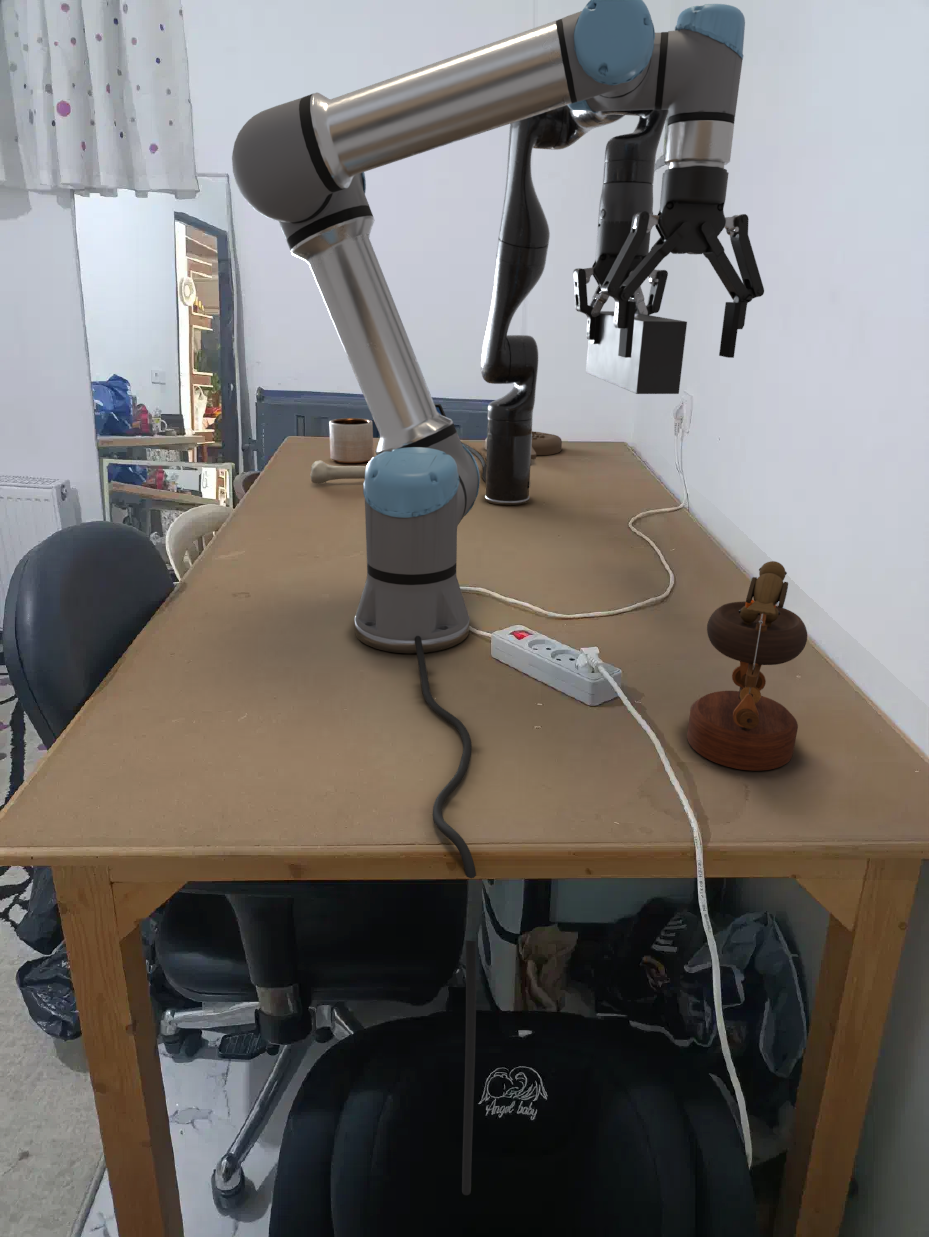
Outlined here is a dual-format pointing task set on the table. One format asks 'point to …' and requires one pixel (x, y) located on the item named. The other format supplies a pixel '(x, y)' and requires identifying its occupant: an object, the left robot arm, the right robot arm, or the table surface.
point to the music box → (750, 679)
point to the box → (640, 354)
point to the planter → (351, 440)
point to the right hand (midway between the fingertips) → (614, 343)
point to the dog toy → (335, 472)
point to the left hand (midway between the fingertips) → (675, 357)
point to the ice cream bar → (543, 444)
